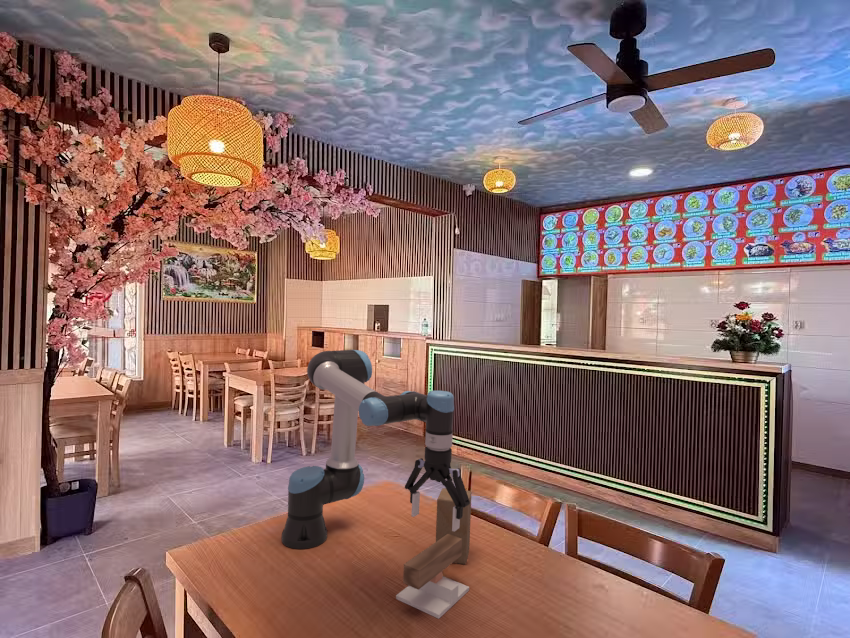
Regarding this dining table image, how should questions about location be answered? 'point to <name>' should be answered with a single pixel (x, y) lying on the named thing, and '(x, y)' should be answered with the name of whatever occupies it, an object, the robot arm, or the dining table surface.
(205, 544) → the dining table surface
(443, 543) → the beam
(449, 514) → the wooden block
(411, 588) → the stand
